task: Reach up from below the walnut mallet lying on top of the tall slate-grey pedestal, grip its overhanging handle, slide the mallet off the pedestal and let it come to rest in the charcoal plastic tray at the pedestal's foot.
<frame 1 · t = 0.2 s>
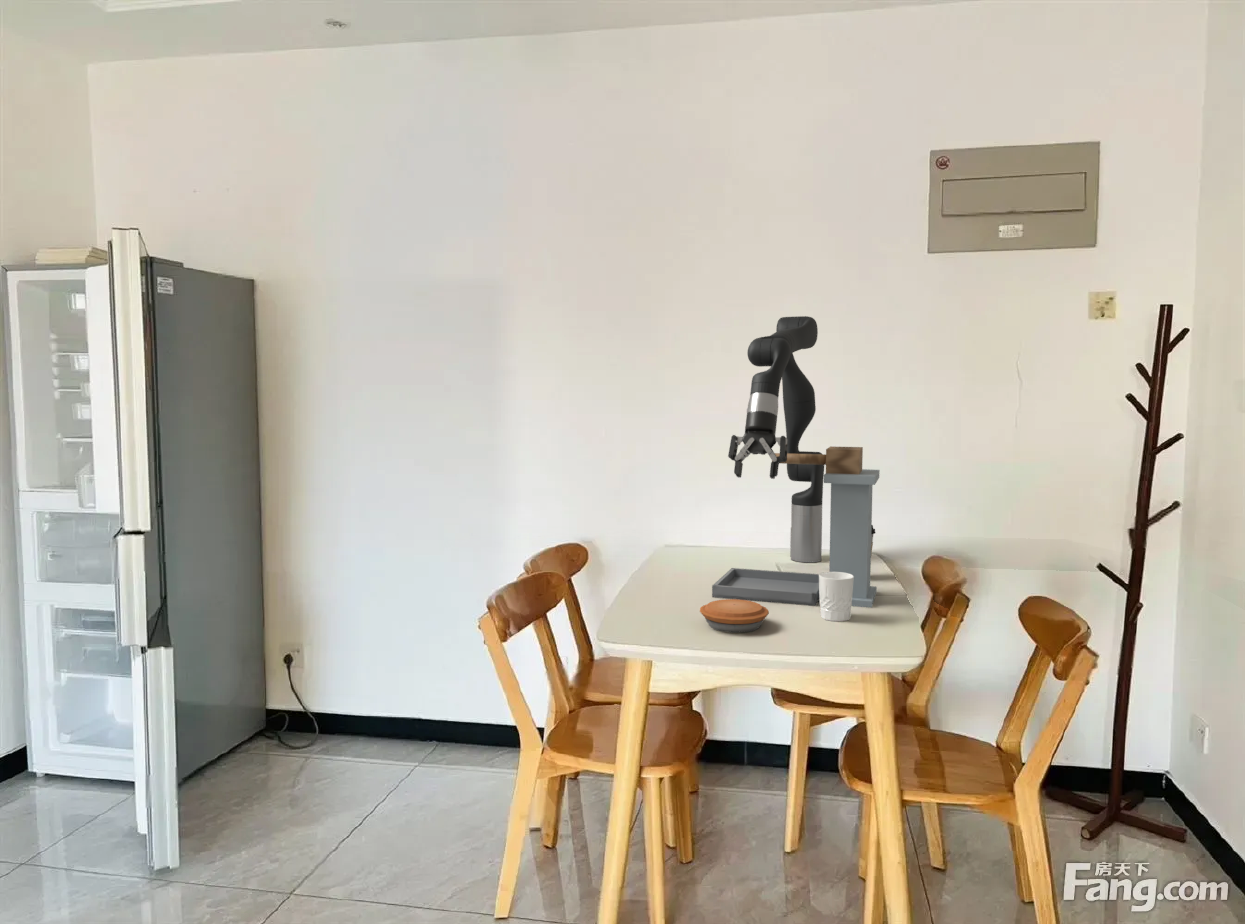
hand: (755, 477, 212), 31 cm above the table, tool tilted 20°, fingers open, 8 cm apart
pedestal: (841, 597, 221), on the table
white cup: (835, 618, 203), on the table
pie: (734, 626, 197), on the table
mallet: (844, 472, 218), point 32 cm above the table, touching pedestal
coffee cup: (856, 578, 242), on the table
tray: (770, 591, 227), on the table
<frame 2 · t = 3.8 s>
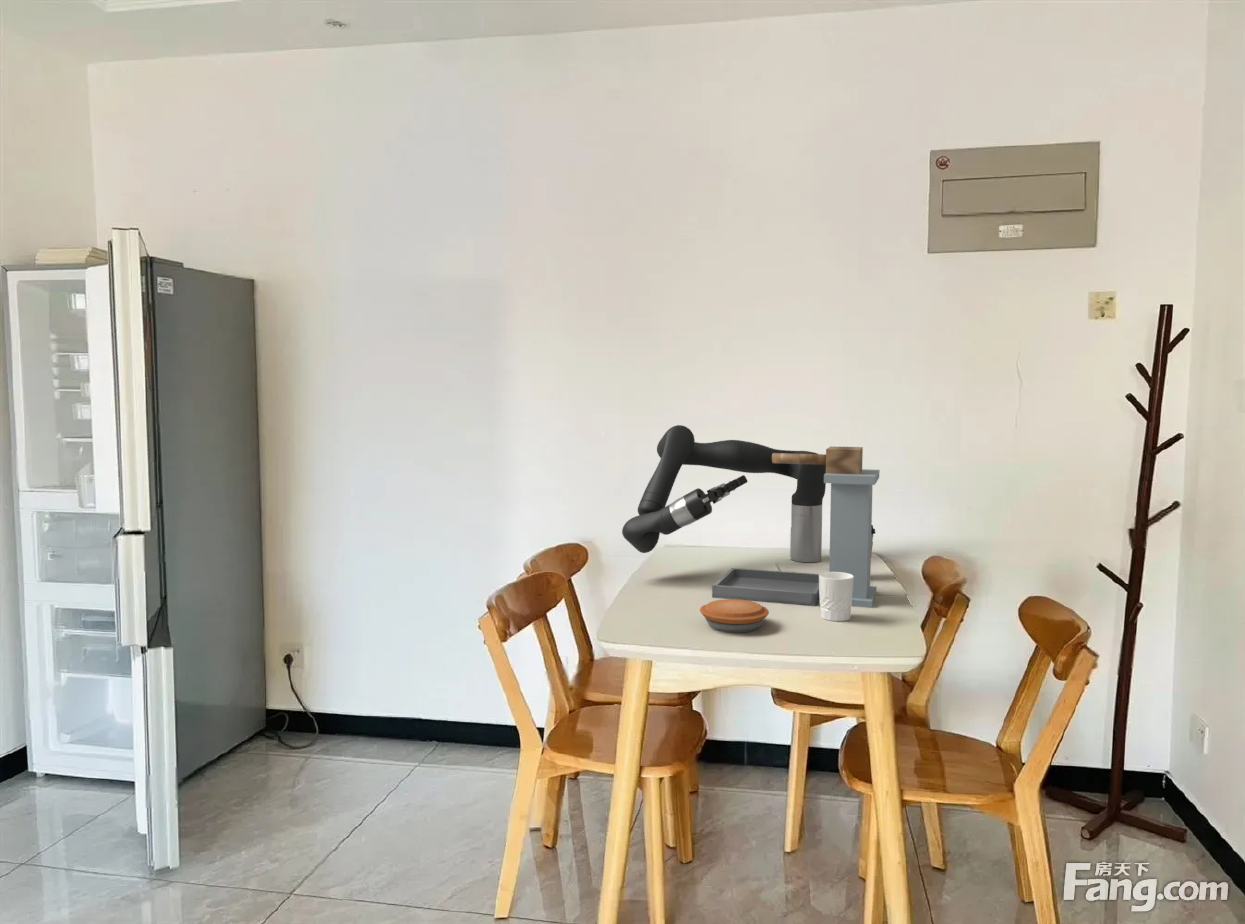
hand: (742, 480, 227), 29 cm above the table, tool pointing upward, fingers open, 8 cm apart
nothing on the table moved.
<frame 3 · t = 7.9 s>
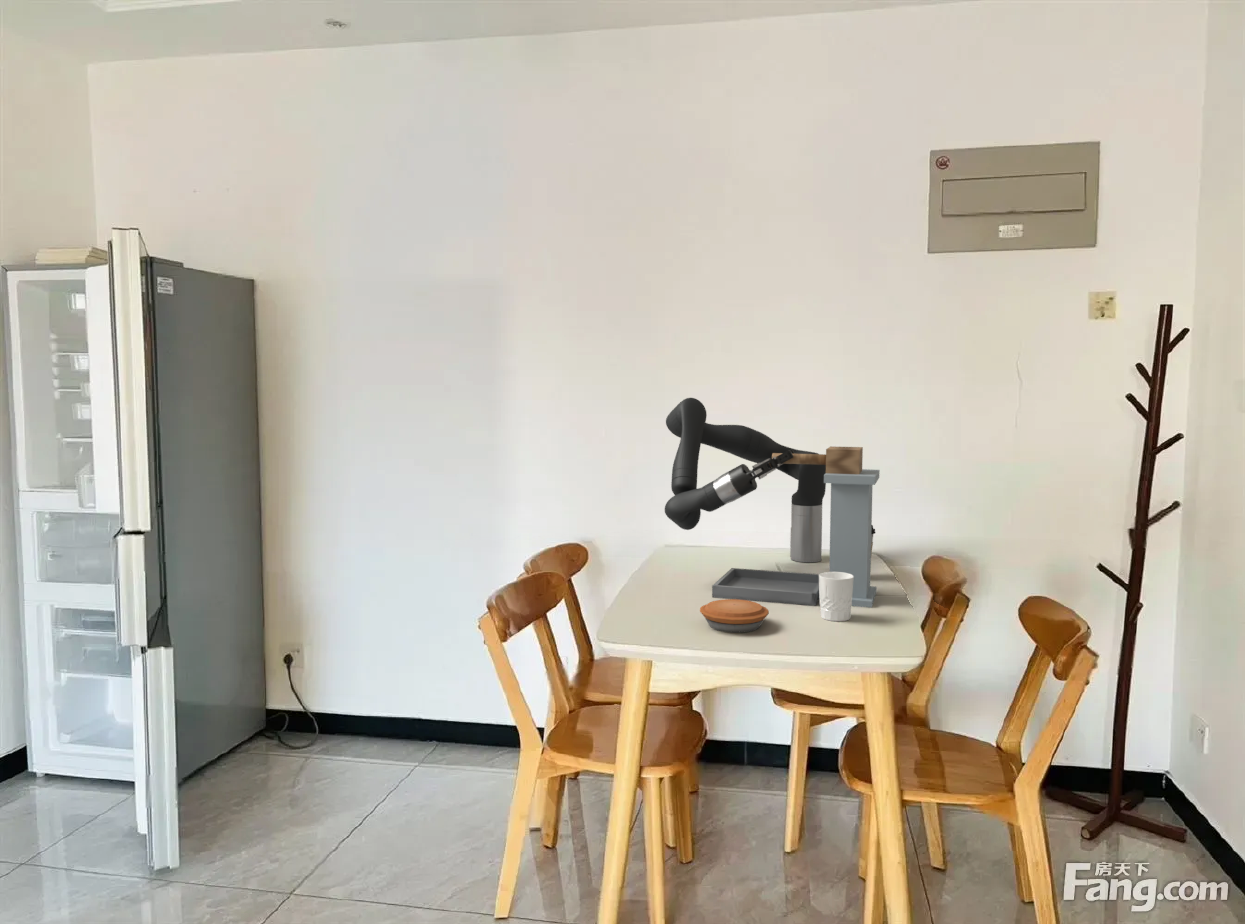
hand: (792, 453, 222), 36 cm above the table, tool pointing upward, fingers closed on mallet, 2 cm apart
mallet: (844, 472, 218), point 32 cm above the table, touching gripper, pedestal
everything else where it was.
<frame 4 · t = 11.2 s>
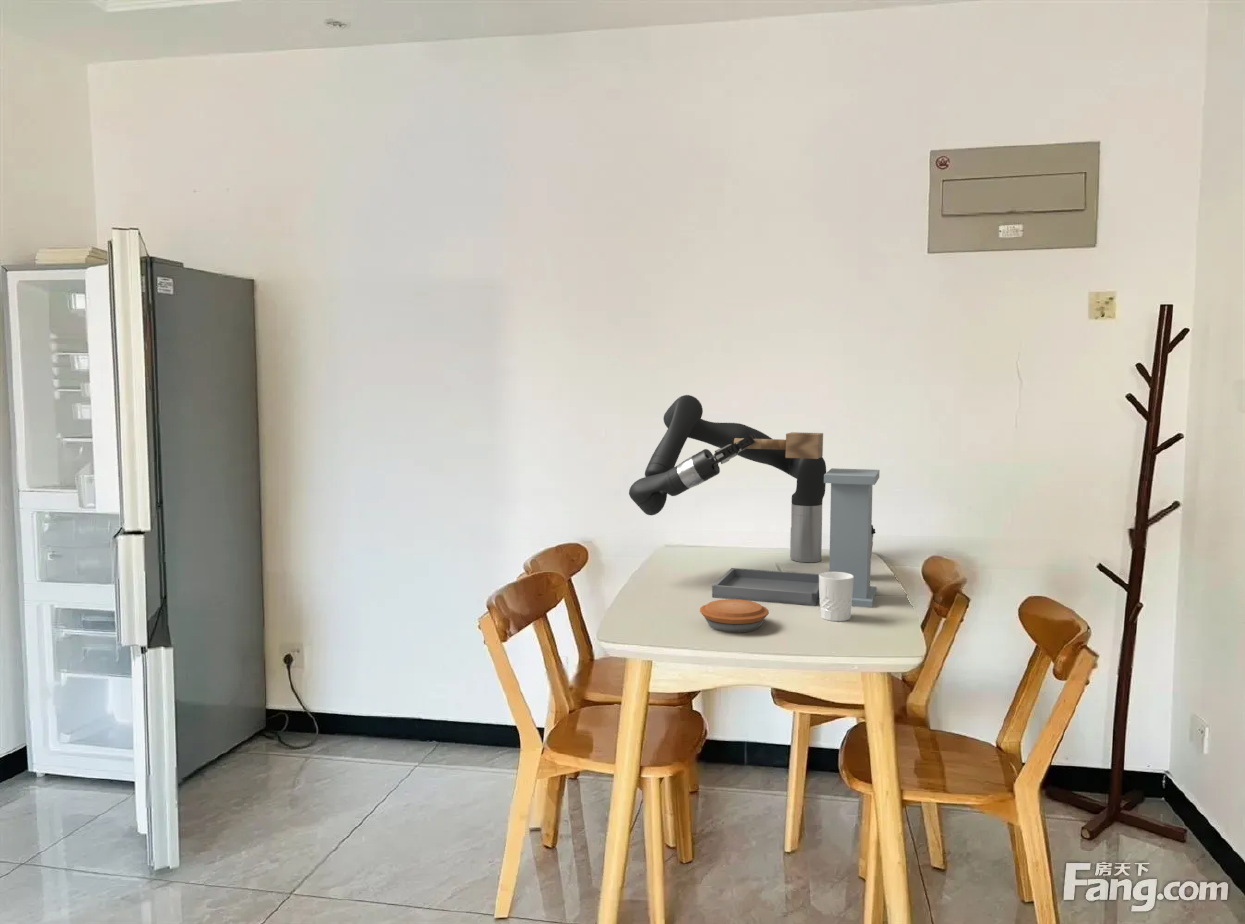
hand: (754, 438, 225), 40 cm above the table, tool pointing upward, fingers closed on mallet, 2 cm apart
mallet: (804, 457, 221), point 36 cm above the table, touching gripper
everything else where it was.
when the fingers open (26 cm above the table, at t = 14.6 s): mallet drops 21 cm, resting on tray.
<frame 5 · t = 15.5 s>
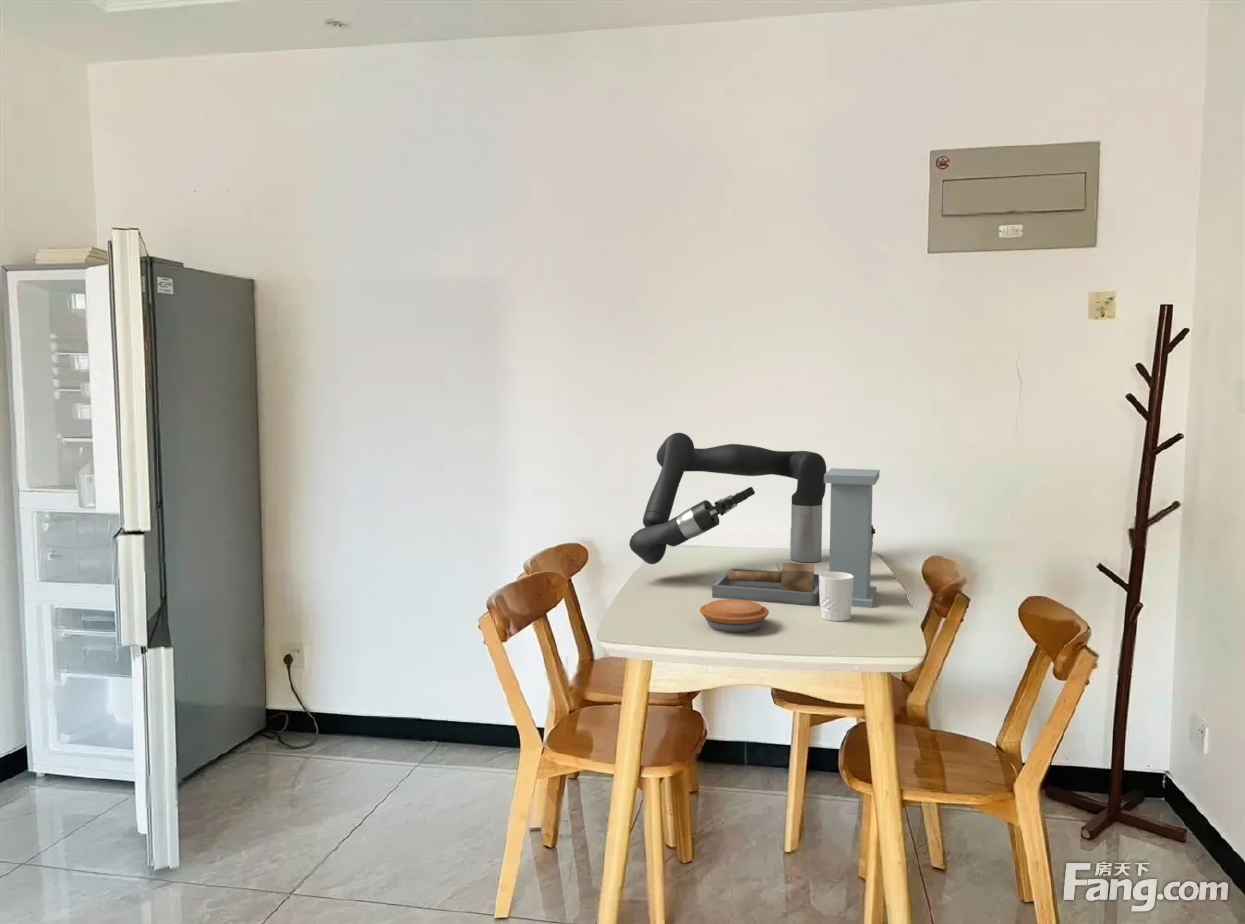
hand: (750, 492, 227), 26 cm above the table, tool pointing upward, fingers open, 8 cm apart
mallet: (797, 590, 225), point 1 cm above the table, touching tray
everything else where it was.
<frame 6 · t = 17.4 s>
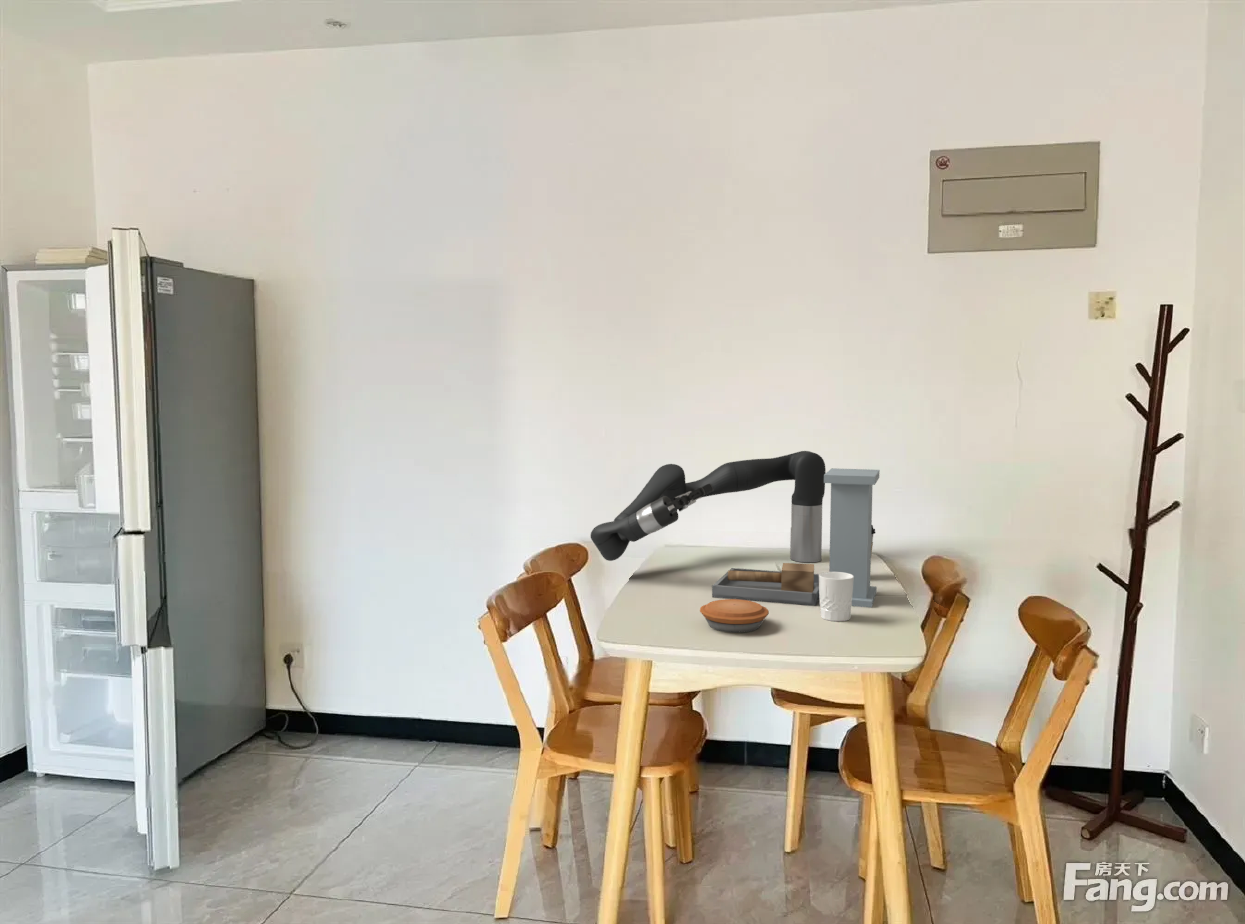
hand: (707, 488, 231), 26 cm above the table, tool pointing upward, fingers open, 8 cm apart
nothing on the table moved.
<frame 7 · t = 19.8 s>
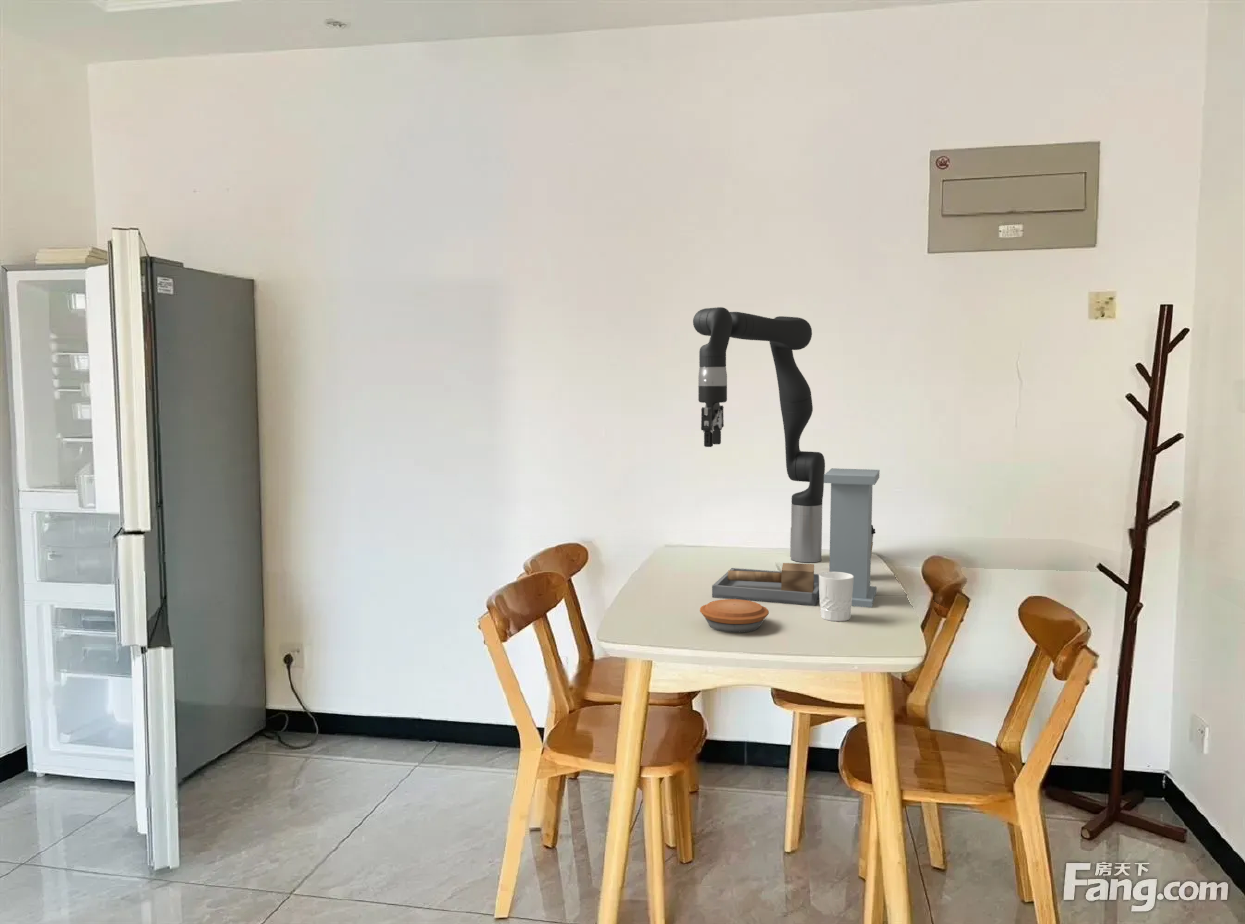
hand: (712, 445, 231), 38 cm above the table, tool pointing down, fingers open, 8 cm apart
nothing on the table moved.
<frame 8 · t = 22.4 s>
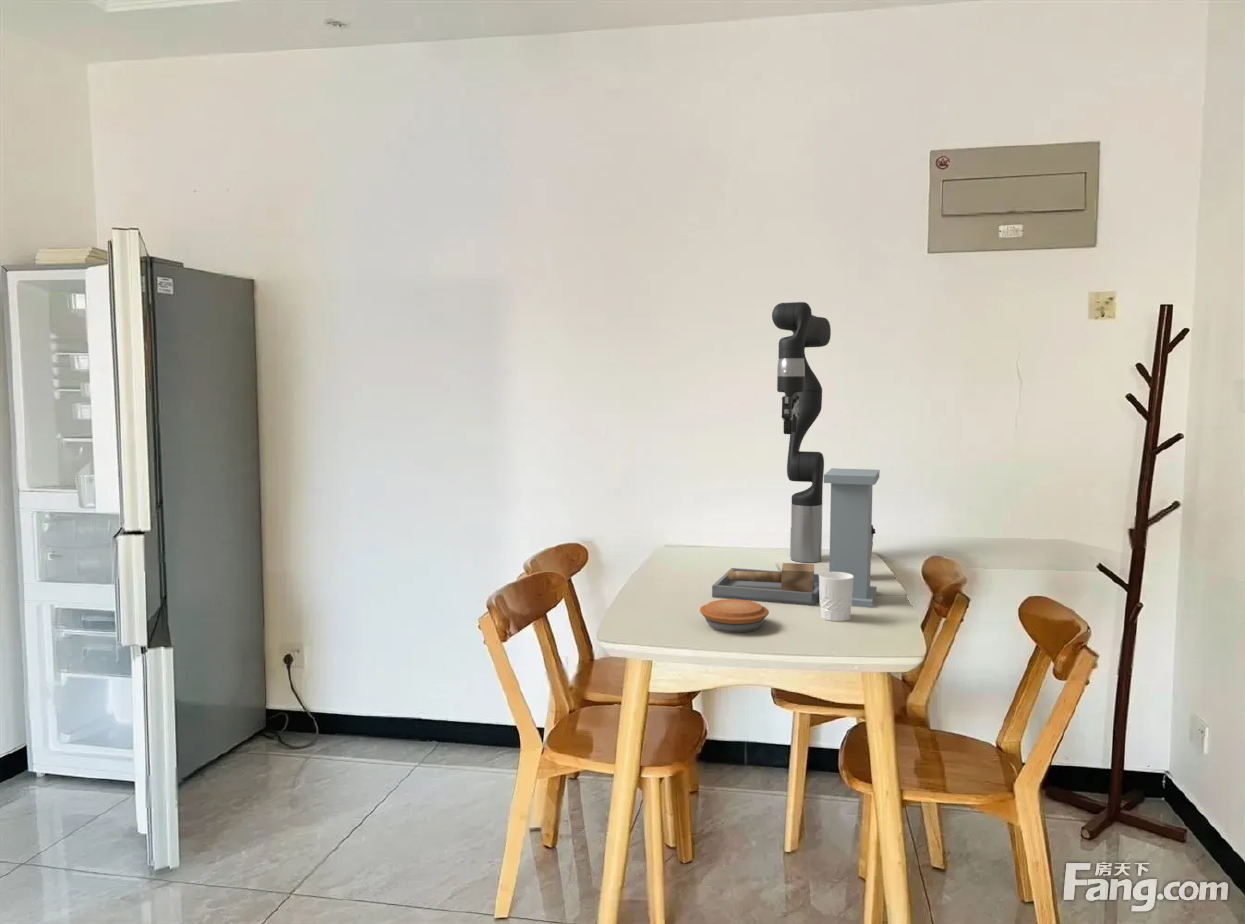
hand: (790, 433, 243), 40 cm above the table, tool pointing down, fingers open, 8 cm apart
nothing on the table moved.
at the end: mallet 6.9 cm from the tray (horizontally); mallet point 0.8 cm above the table; the gripper is holding nothing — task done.
